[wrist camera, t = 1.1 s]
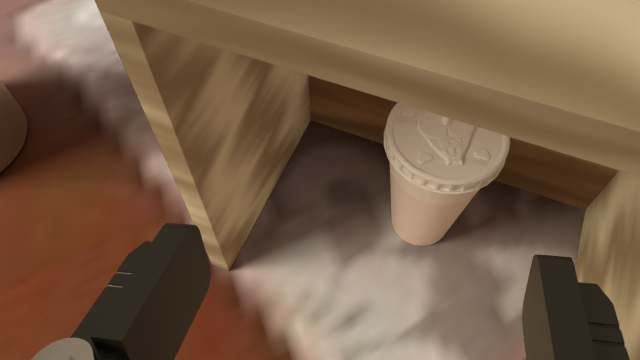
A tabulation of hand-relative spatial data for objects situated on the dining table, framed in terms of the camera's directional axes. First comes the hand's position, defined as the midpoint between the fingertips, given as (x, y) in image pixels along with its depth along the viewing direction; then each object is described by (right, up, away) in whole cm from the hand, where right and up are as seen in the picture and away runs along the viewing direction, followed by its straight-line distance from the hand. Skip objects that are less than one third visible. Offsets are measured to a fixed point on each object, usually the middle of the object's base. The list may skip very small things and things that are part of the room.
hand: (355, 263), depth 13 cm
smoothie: (+6, -1, +23) cm, 23 cm away
